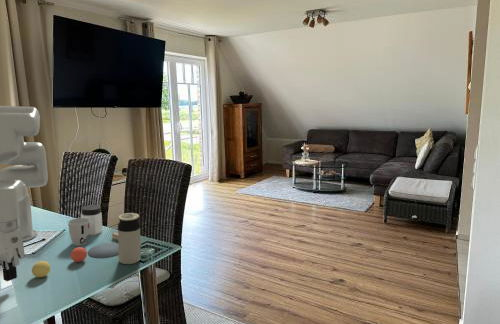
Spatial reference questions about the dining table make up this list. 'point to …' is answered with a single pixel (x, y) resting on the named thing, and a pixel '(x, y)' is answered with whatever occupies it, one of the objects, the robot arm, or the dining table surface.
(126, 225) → the travel mug
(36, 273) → the ochre ball
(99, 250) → the slate mark
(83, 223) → the cup
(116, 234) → the wooden stick
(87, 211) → the jar
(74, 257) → the red ball
